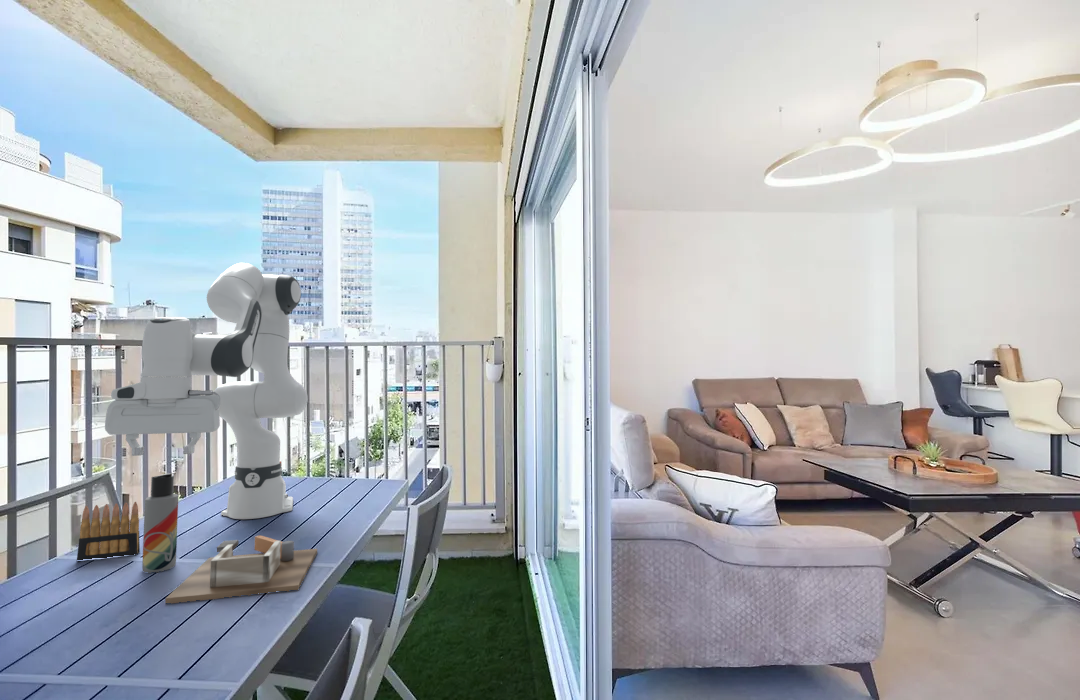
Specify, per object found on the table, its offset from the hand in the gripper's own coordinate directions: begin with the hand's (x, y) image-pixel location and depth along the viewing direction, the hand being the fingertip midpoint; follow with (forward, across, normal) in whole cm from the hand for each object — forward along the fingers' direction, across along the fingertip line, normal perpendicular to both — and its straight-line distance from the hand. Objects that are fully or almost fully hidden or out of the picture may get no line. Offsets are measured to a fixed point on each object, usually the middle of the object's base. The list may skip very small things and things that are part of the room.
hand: (163, 454), depth 105 cm
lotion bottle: (+24, 0, 0) cm, 24 cm away
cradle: (+24, -20, +9) cm, 33 cm away
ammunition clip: (+24, +14, -10) cm, 30 cm away
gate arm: (+23, -22, +1) cm, 32 cm away
